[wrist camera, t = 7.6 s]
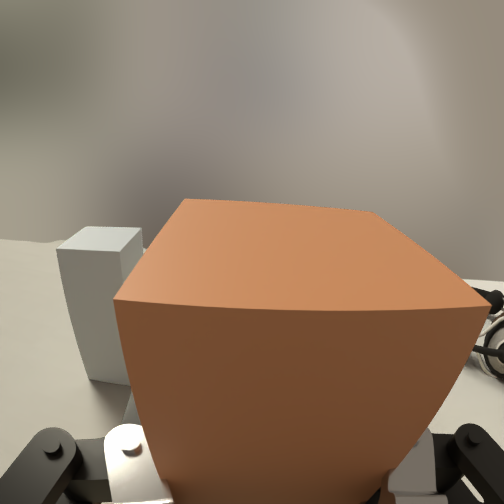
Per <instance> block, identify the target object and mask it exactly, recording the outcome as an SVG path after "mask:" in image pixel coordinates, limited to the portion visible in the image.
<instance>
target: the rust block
mask: <svg viewBox="0 0 504 504" xmlns="http://www.w3.org/2000/svg"><path fill="white" fill-rule="evenodd" d="M113 303H114V309H115V315H116V320H117V326H118V331H119V337H120V342H121V346H122V351H123V356H124V360H125V365H126V369H127V373H128V378H129V382H130V386H131V390H132V393H133V397H134V401H135V405H136V408H137V412H138V415H139V419H140V422H141V425H142V428H143V432H144V435H145V438H146V441H147V444H148V447H149V450H150V453H151V456H152V459H153V462H154V464H155V467H156V470H157V473H158V475H159V478H160V479H167V481H168V484H169V487H170V490H171V493H172V496H173V500H174V503H175V504H359V503H360V502H363V501H368V500H369V499H370V498H371V496H372V495H373V494H374V493H375V492H376V491H377V490H378V489H379V488H380V487H381V482H382V477H383V476H384V475H385V474H386V473H387V471H388V470H389V469H393V468H397V467H398V466H399V464H400V463H401V462H402V461H403V459H404V458H405V457H406V455H407V454H408V453H409V452H410V450H411V449H412V448H413V446H414V445H415V444H416V442H417V441H418V439H419V438H420V437H421V435H422V434H423V432H424V431H425V430H426V428H427V427H428V425H429V424H430V422H431V421H432V419H433V418H434V416H435V415H436V413H437V412H438V410H439V408H440V407H441V405H442V404H443V402H444V400H445V399H446V397H447V396H448V394H449V392H450V390H451V389H452V387H453V385H454V384H455V382H456V380H457V378H458V376H459V375H460V373H461V371H462V369H463V367H464V365H465V363H466V361H467V359H468V358H469V356H470V354H471V352H472V349H473V347H474V345H475V343H476V341H477V339H478V337H479V335H480V332H481V330H482V328H483V326H484V323H485V321H486V319H487V316H488V314H489V312H490V309H491V307H492V305H491V304H490V303H489V302H488V301H487V300H485V299H484V298H483V297H482V296H481V295H480V294H479V293H477V292H476V291H475V290H474V289H473V288H472V287H470V286H469V285H468V284H467V283H466V282H464V281H463V280H462V279H461V278H460V277H458V276H457V275H456V274H455V273H453V272H452V271H451V270H450V269H449V268H447V267H446V266H445V265H444V264H442V263H441V262H440V261H439V260H437V259H436V258H435V257H433V256H432V255H431V254H430V253H428V252H427V251H426V250H424V249H423V248H422V247H420V246H419V245H418V244H416V243H415V242H414V241H412V240H411V239H410V238H408V237H407V236H405V235H404V234H403V233H401V232H400V231H399V230H397V229H396V228H394V227H393V226H392V225H390V224H389V223H387V222H386V221H385V220H383V219H382V218H380V217H379V216H378V215H376V214H375V213H373V212H367V211H357V210H348V209H338V208H327V207H315V206H303V205H302V206H301V205H289V204H276V203H260V202H244V201H226V200H204V199H185V200H184V201H183V202H182V203H181V204H180V206H179V207H178V209H177V210H176V211H175V212H174V214H173V215H172V216H171V218H170V219H169V220H168V221H167V223H166V224H165V226H164V227H163V228H162V230H161V231H160V232H159V234H158V235H157V236H156V238H155V239H154V240H153V242H152V243H151V245H150V246H149V247H148V249H147V250H146V252H145V253H144V254H143V256H142V257H141V259H140V260H139V261H138V263H137V264H136V266H135V267H134V269H133V270H132V271H131V273H130V274H129V276H128V277H127V279H126V280H125V282H124V283H123V285H122V286H121V288H120V289H119V291H118V292H117V294H116V295H115V297H114V298H113Z"/></svg>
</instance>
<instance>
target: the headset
mask: <svg viewBox="0 0 504 504" xmlns="http://www.w3.org/2000/svg"><path fill="white" fill-rule="evenodd" d="M472 288H473V289H474V290H475V291H476V292H477V293H479V294H480V295H481V296H482V297H483V298H484V299H485V300H487V301H488V302H489V303H490V304H491V305H492V307H491V309H490V312H489V314H496V313H498V312H499V311H500V310H502V311H503V313H502V314H500V315H499V316H498V317H497V318H495V319H494V320H493V322H492V323H491V325H490V326H489V327H488V328H487V329H486V330H485V331H484V332H482V333H480V335H479V337H481V336H484V335H485V334H486V336H485V340H484V345H483V347H482V346H478V345H474V347H473V349H472V351H474V352H476V353H477V357H478V360H479V362H480V365H481V367H482V369H483V371H484V372H485V373H486V374H487V375H489V376H491V377H494V378H497V379H499V378H500V379H502V378H504V308H503V306H504V295H503V294H502V293H501V291H498V290H494V291H492V292H488V291H485V290H481V289H478V288H474V287H472ZM480 354H483V355H484V358H485V362H486V365H487V366H488V367H489V369H490V370H491V372H493V373H494V374H495V375H494V374H491V373H490V372H489V371H488V370H487V369H486V368H485V365H484V363H483V361H482V358H481V355H480Z"/></svg>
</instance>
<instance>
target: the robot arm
mask: <svg viewBox="0 0 504 504" xmlns="http://www.w3.org/2000/svg"><path fill="white" fill-rule="evenodd" d="M464 475H465V476H466V477H467V479H468V480H469V481H470V482H471V484H472V485H473V486H474V487H475V489H476V490H477V491H478V492H479V494H480V495H481V496H482V498H483V499H484V503H482V502H479V501H478V500H477V499H476V497H475V496H474V495H473V494H472V492H471V491H470V490H469V489H468V487H467V486H466V485H465V483H464V482H463V481H462V480H461V478H462V477H463V476H464ZM102 502H113V504H175V503H174V500H173V496H172V493H171V490H170V487H169V484H168V481H167V479H160V478H159V475H158V473H157V470H156V467H155V464H154V462H153V459H152V456H151V453H150V450H149V447H148V444H147V441H146V438H145V435H144V432H143V428H142V425H141V422H140V419H139V415H138V412H137V408H136V405H135V401H134V397H133V393H132V392H131V395H130V398H129V401H128V404H127V407H126V410H125V413H124V416H123V419H122V422H121V424H120V426H118V427H116V428H114V429H113V430H111V431H110V432H109V433H108V435H107V436H106V437H103V438H98V439H82V440H74V439H73V437H72V436H71V435H70V434H69V433H68V432H67V431H65V430H63V429H60V428H55V427H54V428H46V429H43V430H41V431H39V432H38V433H37V434H36V435H35V436H34V437H33V438H32V440H31V441H30V442H29V443H28V444H27V446H26V447H25V448H24V449H23V451H22V452H21V453H20V454H19V456H18V457H17V458H16V459H15V461H14V462H13V463H12V464H11V466H10V467H9V468H8V470H7V471H6V472H5V473H4V475H3V476H2V477H1V479H0V504H101V503H102ZM359 504H504V451H503V450H502V449H501V447H500V446H499V445H498V444H497V443H496V442H495V441H494V440H493V439H492V438H491V436H490V435H489V434H488V433H487V432H486V431H485V430H484V429H483V428H482V427H480V426H478V425H476V424H470V423H468V424H464V425H462V426H460V427H459V428H458V429H457V431H456V432H455V433H454V434H434V433H431V432H430V430H429V429H428V428H426V430H425V431H424V432H423V434H422V435H421V437H420V438H419V439H418V441H417V442H416V444H415V445H414V446H413V448H412V449H411V450H410V452H409V453H408V454H407V455H406V457H405V458H404V459H403V461H402V462H401V463H400V464H399V466H398V467H397V468H393V469H389V470H388V471H387V473H386V474H385V475H384V476H383V477H382V482H381V487H380V488H379V489H378V490H377V491H376V492H375V493H374V494H373V495H372V496H371V498H370V499H369V500H368V501H363V502H360V503H359Z"/></svg>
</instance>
